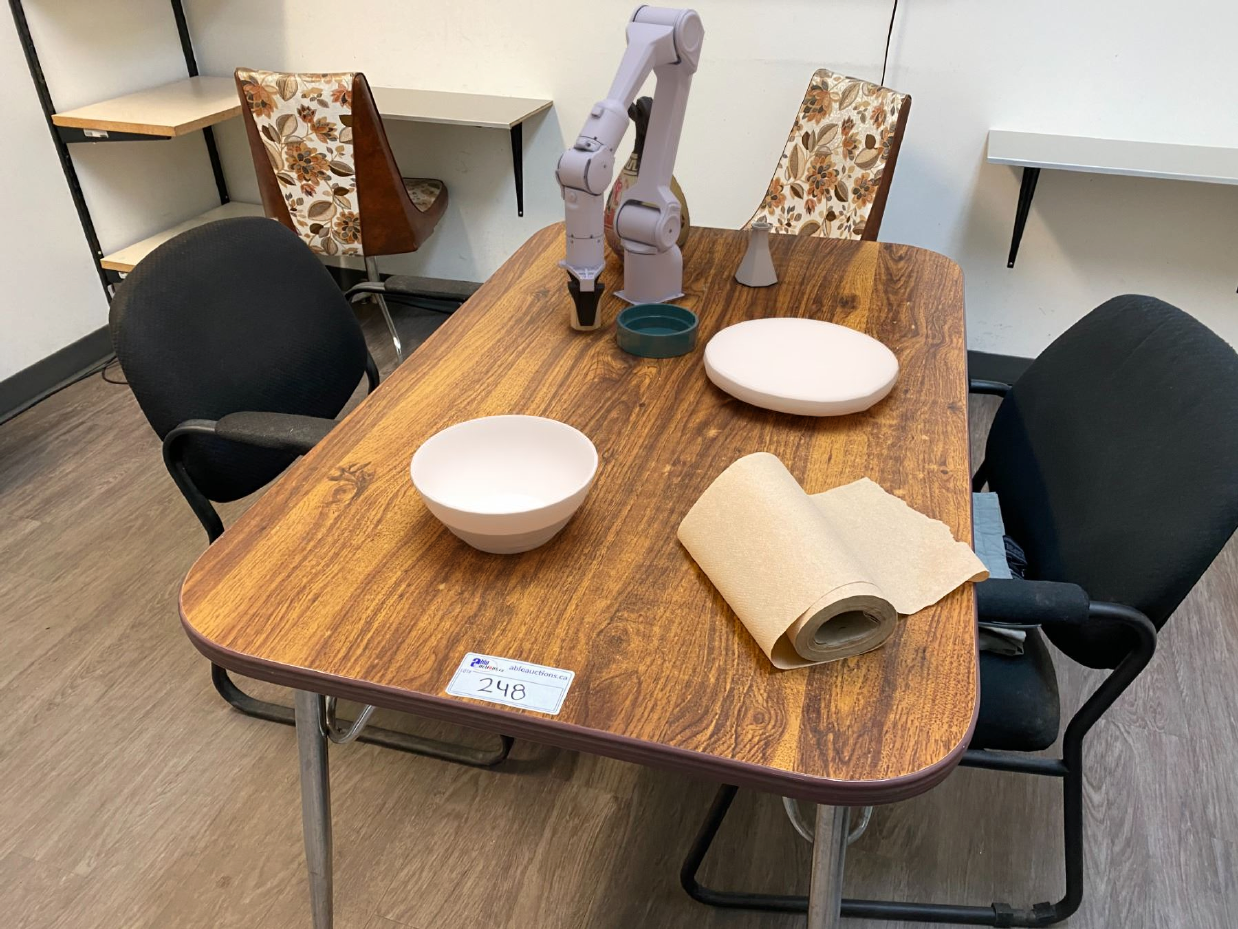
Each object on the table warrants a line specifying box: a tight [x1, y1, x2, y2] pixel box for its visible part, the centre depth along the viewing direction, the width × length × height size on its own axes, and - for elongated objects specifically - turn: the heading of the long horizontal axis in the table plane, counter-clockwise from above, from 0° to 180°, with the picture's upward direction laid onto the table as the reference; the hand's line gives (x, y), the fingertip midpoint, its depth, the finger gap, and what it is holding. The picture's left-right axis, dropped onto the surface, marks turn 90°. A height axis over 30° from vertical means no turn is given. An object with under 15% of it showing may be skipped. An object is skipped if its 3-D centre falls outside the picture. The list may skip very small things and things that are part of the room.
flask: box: [734, 221, 778, 287], centre depth 159 cm, size 7×7×10 cm
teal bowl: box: [616, 302, 700, 359], centre depth 137 cm, size 12×12×4 cm
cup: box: [569, 294, 602, 332], centre depth 142 cm, size 5×5×5 cm
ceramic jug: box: [604, 95, 691, 266], centre depth 158 cm, size 17×15×30 cm
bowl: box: [409, 414, 599, 555], centre depth 97 cm, size 19×20×8 cm
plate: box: [702, 317, 900, 417], centre depth 127 cm, size 28×6×27 cm
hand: (585, 318), depth 143 cm, fingers closed on cup, 5 cm apart
